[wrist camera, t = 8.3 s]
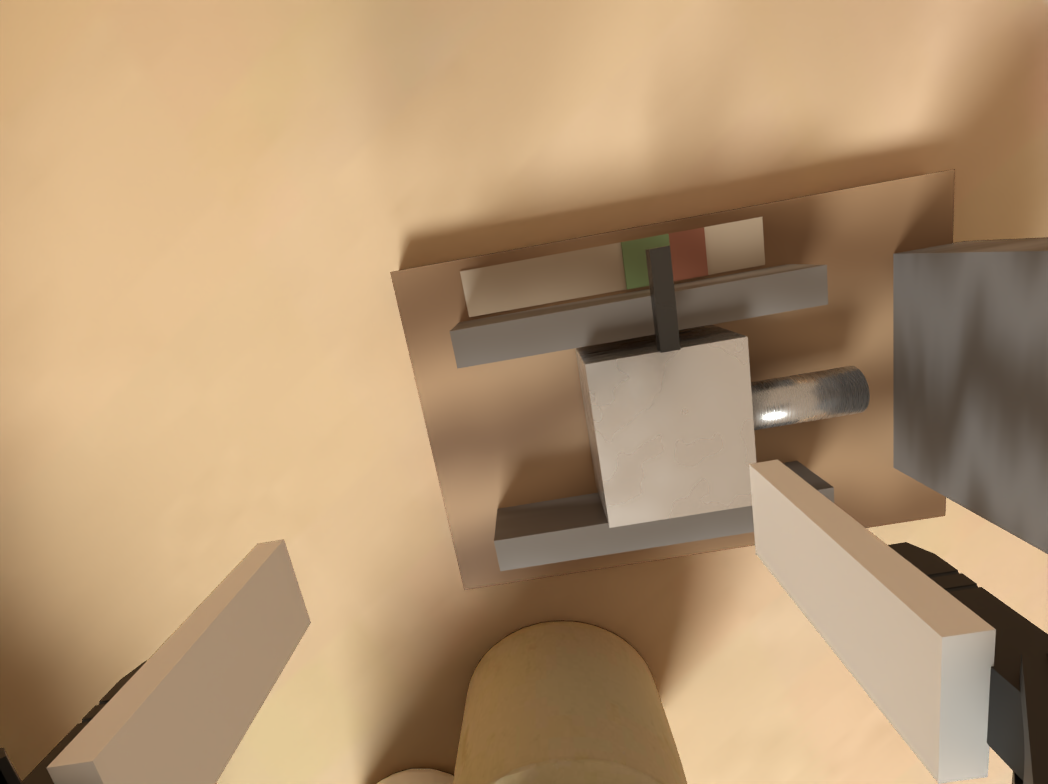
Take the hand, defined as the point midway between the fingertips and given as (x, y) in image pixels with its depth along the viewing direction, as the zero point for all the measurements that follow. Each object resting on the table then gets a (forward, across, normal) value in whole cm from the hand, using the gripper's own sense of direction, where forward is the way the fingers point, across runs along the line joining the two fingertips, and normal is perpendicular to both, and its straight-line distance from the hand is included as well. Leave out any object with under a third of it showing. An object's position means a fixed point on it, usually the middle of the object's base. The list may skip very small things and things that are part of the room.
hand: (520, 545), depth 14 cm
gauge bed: (+12, -8, 0) cm, 14 cm away
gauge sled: (+10, -8, -2) cm, 13 cm away
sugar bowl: (+12, 0, +19) cm, 22 cm away
